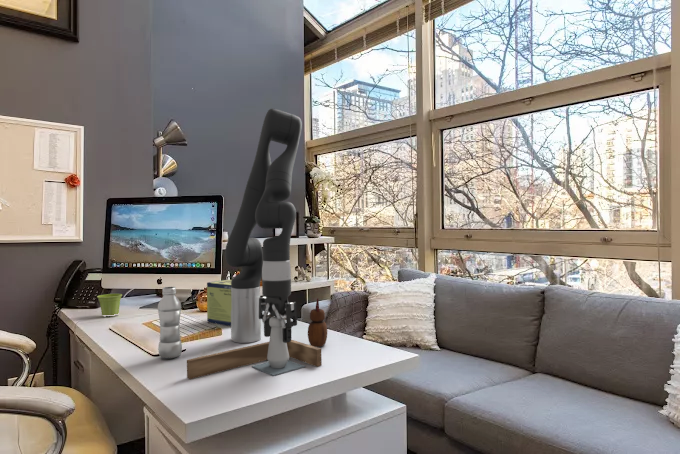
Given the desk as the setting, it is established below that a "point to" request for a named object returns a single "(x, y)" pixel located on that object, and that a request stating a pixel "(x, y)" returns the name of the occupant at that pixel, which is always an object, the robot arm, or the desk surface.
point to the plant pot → (109, 303)
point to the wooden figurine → (317, 327)
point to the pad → (276, 371)
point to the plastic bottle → (169, 324)
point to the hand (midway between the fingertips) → (277, 339)
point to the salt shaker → (277, 345)
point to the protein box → (219, 302)
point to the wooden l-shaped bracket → (249, 358)
